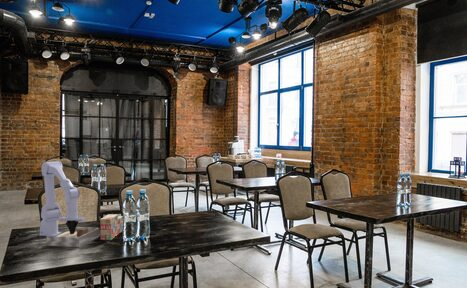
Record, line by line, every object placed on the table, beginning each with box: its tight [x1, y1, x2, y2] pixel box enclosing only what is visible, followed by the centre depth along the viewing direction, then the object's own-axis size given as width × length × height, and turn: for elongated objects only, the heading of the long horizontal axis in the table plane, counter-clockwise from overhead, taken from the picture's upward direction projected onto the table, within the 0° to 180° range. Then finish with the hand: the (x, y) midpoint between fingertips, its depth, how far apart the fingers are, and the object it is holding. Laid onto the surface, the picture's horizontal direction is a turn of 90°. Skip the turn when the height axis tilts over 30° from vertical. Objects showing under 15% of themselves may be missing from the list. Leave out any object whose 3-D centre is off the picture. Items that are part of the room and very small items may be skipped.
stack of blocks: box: [99, 213, 124, 241], centre depth 220 cm, size 21×6×12 cm, turn 178°
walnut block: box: [77, 227, 89, 237], centre depth 207 cm, size 4×4×4 cm
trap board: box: [46, 226, 101, 248], centre depth 208 cm, size 19×21×5 cm
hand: (72, 233), depth 208 cm, fingers closed
